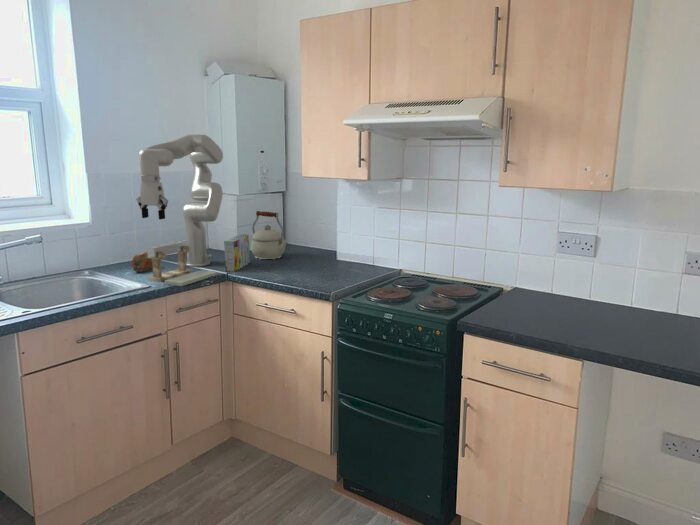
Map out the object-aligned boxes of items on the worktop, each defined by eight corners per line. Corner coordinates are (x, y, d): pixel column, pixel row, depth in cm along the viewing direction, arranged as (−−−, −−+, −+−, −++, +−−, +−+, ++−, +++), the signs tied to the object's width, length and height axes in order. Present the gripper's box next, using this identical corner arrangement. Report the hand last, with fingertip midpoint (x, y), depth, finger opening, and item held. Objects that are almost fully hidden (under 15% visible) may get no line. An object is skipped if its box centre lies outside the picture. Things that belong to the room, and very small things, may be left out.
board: (201, 273, 256) (201, 270, 256) (217, 275, 252) (217, 271, 252) (165, 284, 234) (165, 280, 234) (181, 286, 231) (181, 282, 231)
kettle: (241, 257, 294) (240, 211, 289) (265, 252, 309) (264, 209, 304) (276, 263, 280) (275, 215, 275) (299, 257, 295) (298, 212, 290)
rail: (182, 248, 257) (181, 240, 256) (189, 249, 255) (188, 241, 254) (147, 256, 237) (147, 247, 236) (154, 257, 236) (154, 248, 235)
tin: (137, 273, 254) (136, 256, 252) (131, 273, 254) (130, 255, 253) (155, 267, 268) (154, 250, 267) (149, 267, 269) (148, 250, 267)
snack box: (240, 262, 281) (239, 233, 278) (250, 263, 280) (249, 234, 277) (224, 271, 260) (223, 240, 257) (235, 272, 259) (234, 240, 256)
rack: (179, 271, 259) (178, 244, 256) (191, 273, 256) (189, 245, 253) (148, 280, 241) (146, 251, 238) (160, 281, 238) (158, 252, 235)
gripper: (172, 179, 235) (174, 218, 238) (142, 177, 242) (145, 216, 246) (159, 180, 228) (162, 220, 232) (129, 178, 235) (132, 218, 239)
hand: (153, 218), depth 239 cm, fingers open, 9 cm apart
